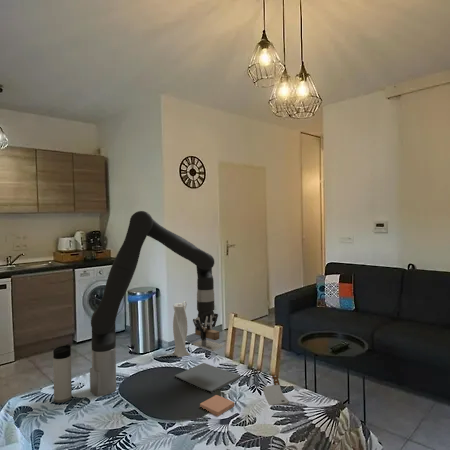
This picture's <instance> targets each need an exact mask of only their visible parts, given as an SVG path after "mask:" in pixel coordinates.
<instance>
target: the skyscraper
mask: <svg viewBox="0 0 450 450" xmlns="http://www.w3.org/2000/svg"><path fill="white" fill-rule="evenodd" d="M187 305H188V304H187V301H185V300H184V301H183V302H178V303H177V302H175V303H174V304H173V305H172V307H173V311H174V314H173V321H172V328H173V329H172V330H173V339H174V345H175V346H174V351H173V352H172V355H174V356H176V358H182V357H187V356H191V353H190V352H188V351H187V347H186V342H187V338H188V337H187V335H188V318H187V314H186V309H187Z"/></svg>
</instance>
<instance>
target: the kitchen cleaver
mask: <svg viewBox="0 0 450 450" xmlns="http://www.w3.org/2000/svg"><path fill="white" fill-rule="evenodd" d="M271 377H272V380H273V385H267V386H262V391H263V395H264V397H265V400H266V402H267V404H268V405H269V406H281V405H282V406H283V405H288V404H290V400H289V399H288V398H287V397H286V396H285V395H284V393H283V390H282V388H281V384H280V380H279V376H278V375H277V374H273V375H272V376H271Z"/></svg>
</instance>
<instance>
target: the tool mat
mask: <svg viewBox="0 0 450 450" xmlns="http://www.w3.org/2000/svg"><path fill="white" fill-rule="evenodd" d="M175 376H176V377H179V378H181V379H183V380H186V381H188V382H191V383H193V384H196V385H198V386H200V387H202V388H205V389H207V390H209V391H213V390H216V389H219V390H220V389H223V388H224V387H226V386H228V385H230V384H231V383H234V382H235V381H237V380H239V379H241V375H239V374H237V373H233V372H231V371H228V370H225V369H222V368H220V367H216V366H214V365H211V364H208V363H206V362H202V363H200V364H198V365H195V366H194V367H193V366H192V367H190V368H188V369H186V370H184V371H182V372H179V373H177V374H174V377H175Z"/></svg>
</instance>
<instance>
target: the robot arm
mask: <svg viewBox="0 0 450 450" xmlns="http://www.w3.org/2000/svg"><path fill="white" fill-rule="evenodd" d="M147 237H150V238H152V239H153V240H155V241H157V242H158V243H160V244H161V245H163V246H165V247H166V248H167V249H169V250H171V252H173V253H175V255H178V256H180V257H182V258H183V259H185V260H188V261H189V262H191V263H192V264H194V265H195V267H196V274H197V275H196V276H197V278H196V279H197V281H196V285H197V287H196V288H197V289H196V310H197V312H198V313H197V317H195V318H193V319H192V322H193V324H194V327H195V328H196V330H197V331H200V332H201V336H200V341H201V340H204V341H205V340H207V338H206V332H205V331H206V328H208V329H211V330H213V328H215V327H216V324H217V322H218V321H217V320H218V317H219V314H218V313H217V312H216V313H215V312H214V311H215V289H214V286H215V285H214V276H213V267H214V266H215V259H214V257H213V256H212V254H209V253H207V252H206V251H205V250H202V249H200V248H199V247H197V246H196V245H194V243H191V242H190V241H188V240H187V239H186V238H184V237H182V236H180V235H178V234H176V233H174V232H172V231H170V230H168V229H167V228H166V227H164V226H162V225H161V224H160V223H158V222H157V221H156V220H154V219H153V217H152V215H151V214H150V213H149V212H147V211H144V210H139V211H136V212H134V213H133V214H132V215H131V217H130V220H129V224H128V227H127V230H126V234H125V238H124V241H123V243H122V245H121V247H120V249H119V250H118V252H117V254H116V256H115V258H114V260H113V263H112V266H111V267H110V270H109V273H108V277H107V279H106V282H105V287H104V292H103V296H102V298H101V300H100V303H99V305H98V307H97V309H95V310H94V312H93V313H92V315H91V319H90V327H91V367H90V368H89V391H90V393H92V394H93V395H95V396H96V397H100V396H105V395H106V396H107V395H111V394H112V393H114V392H115V391H116V390H117V354H116V353H117V348H116V347H117V346H116V345H117V344H116V343H117V341H116V340H117V339H116V335H117V334H116V333H117V332H116V322H117V321H116V319H117V317H118V312H119V309H120V305H121V303H122V300H123V298H124V296H125V295H126V293H127V290H128V288H129V286H130V284H131V282H132V279H133V277H134V275H135V272H136V268H137V266H138V262H139V259H140V255H141V250H142V247H143V244H144V242H145V241H146V240H147V239H146V238H147ZM202 328H203V329H202Z"/></svg>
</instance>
